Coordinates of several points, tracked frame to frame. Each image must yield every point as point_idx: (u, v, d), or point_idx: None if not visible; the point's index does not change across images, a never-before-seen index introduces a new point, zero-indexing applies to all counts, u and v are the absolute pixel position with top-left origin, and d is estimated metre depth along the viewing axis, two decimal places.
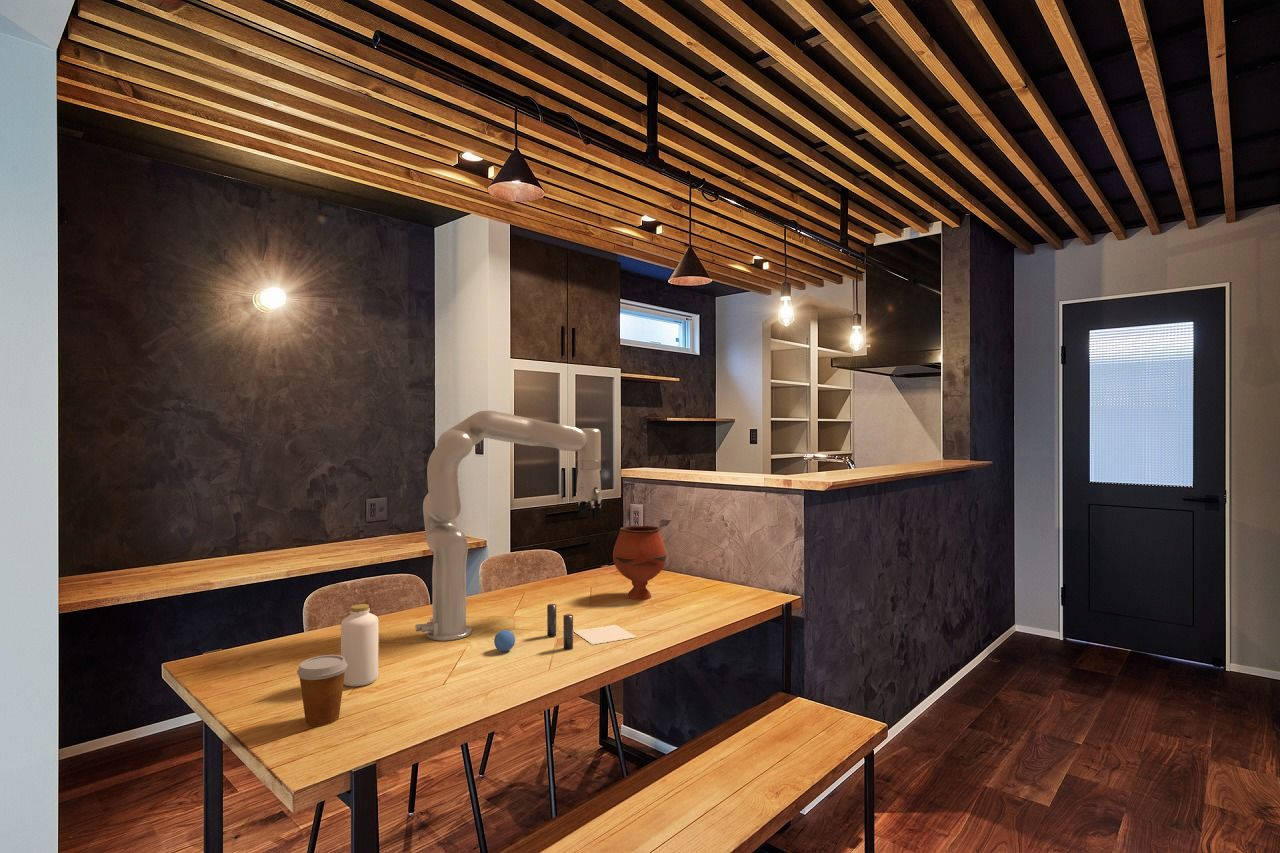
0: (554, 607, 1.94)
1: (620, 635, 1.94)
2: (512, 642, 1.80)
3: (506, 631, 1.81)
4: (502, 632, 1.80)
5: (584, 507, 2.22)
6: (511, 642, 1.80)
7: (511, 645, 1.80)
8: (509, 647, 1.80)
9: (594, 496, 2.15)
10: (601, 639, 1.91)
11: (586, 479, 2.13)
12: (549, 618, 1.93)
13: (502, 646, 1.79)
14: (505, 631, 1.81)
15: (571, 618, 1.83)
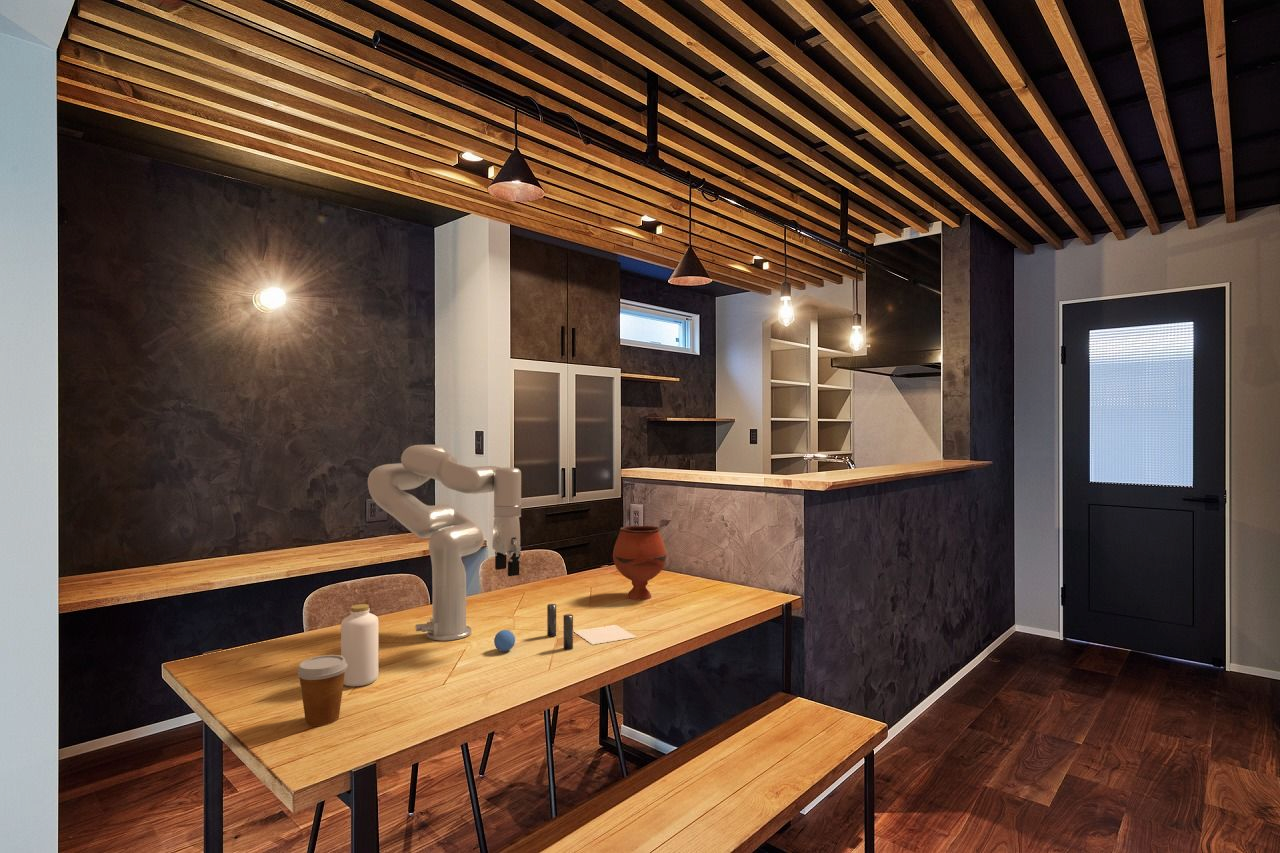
0: (554, 607, 1.94)
1: (620, 635, 1.94)
2: (512, 642, 1.80)
3: (506, 631, 1.81)
4: (502, 632, 1.80)
5: (501, 558, 1.92)
6: (511, 642, 1.80)
7: (511, 645, 1.80)
8: (509, 647, 1.80)
9: (512, 547, 1.85)
10: (601, 639, 1.91)
11: (503, 528, 1.84)
12: (549, 618, 1.93)
13: (502, 646, 1.79)
14: (505, 631, 1.81)
15: (571, 618, 1.83)
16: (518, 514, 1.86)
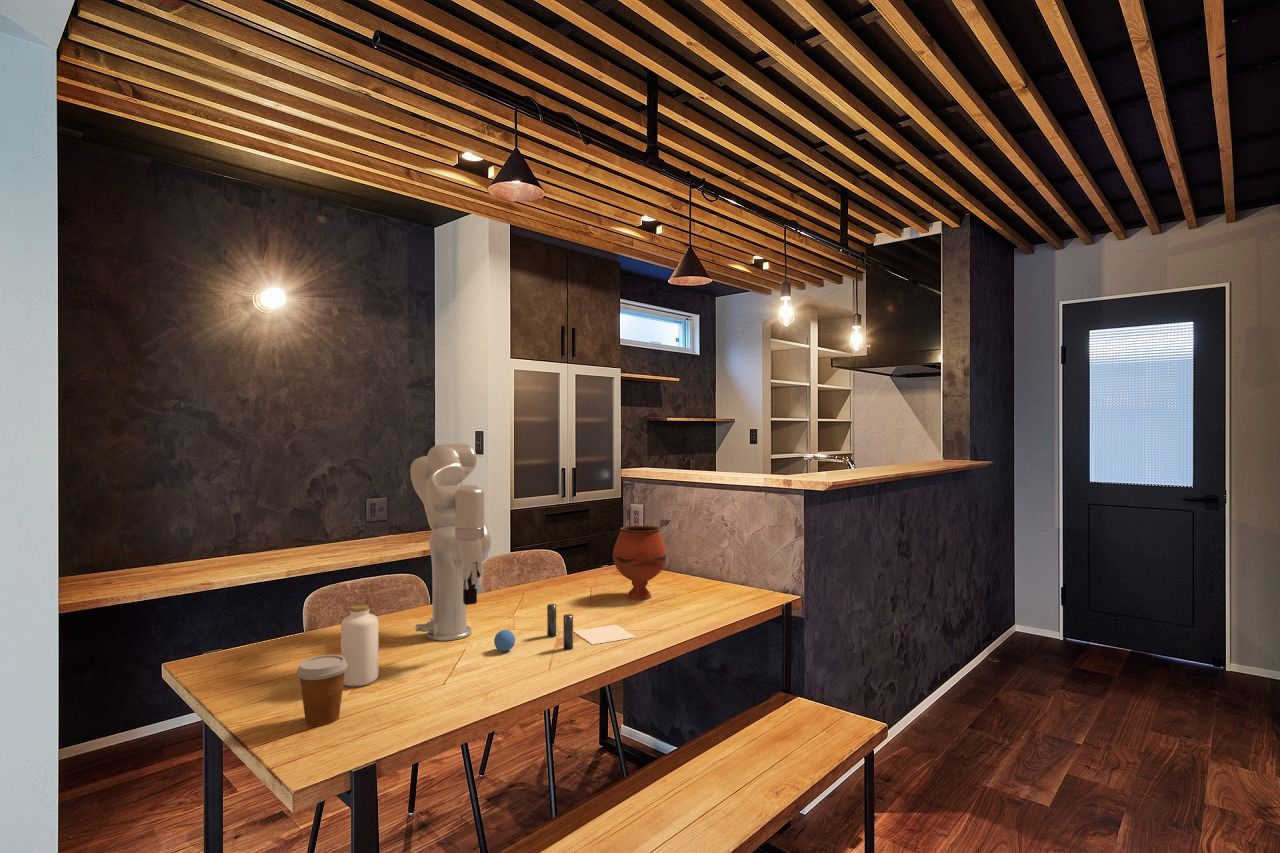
0: (554, 607, 1.94)
1: (620, 635, 1.94)
2: (512, 642, 1.80)
3: (506, 631, 1.81)
4: (502, 632, 1.80)
5: None
6: (511, 642, 1.80)
7: (511, 645, 1.80)
8: (509, 647, 1.80)
9: None
10: (601, 639, 1.91)
11: (463, 552, 1.73)
12: (549, 618, 1.93)
13: (502, 646, 1.79)
14: (505, 631, 1.81)
15: (571, 618, 1.83)
16: (480, 537, 1.75)
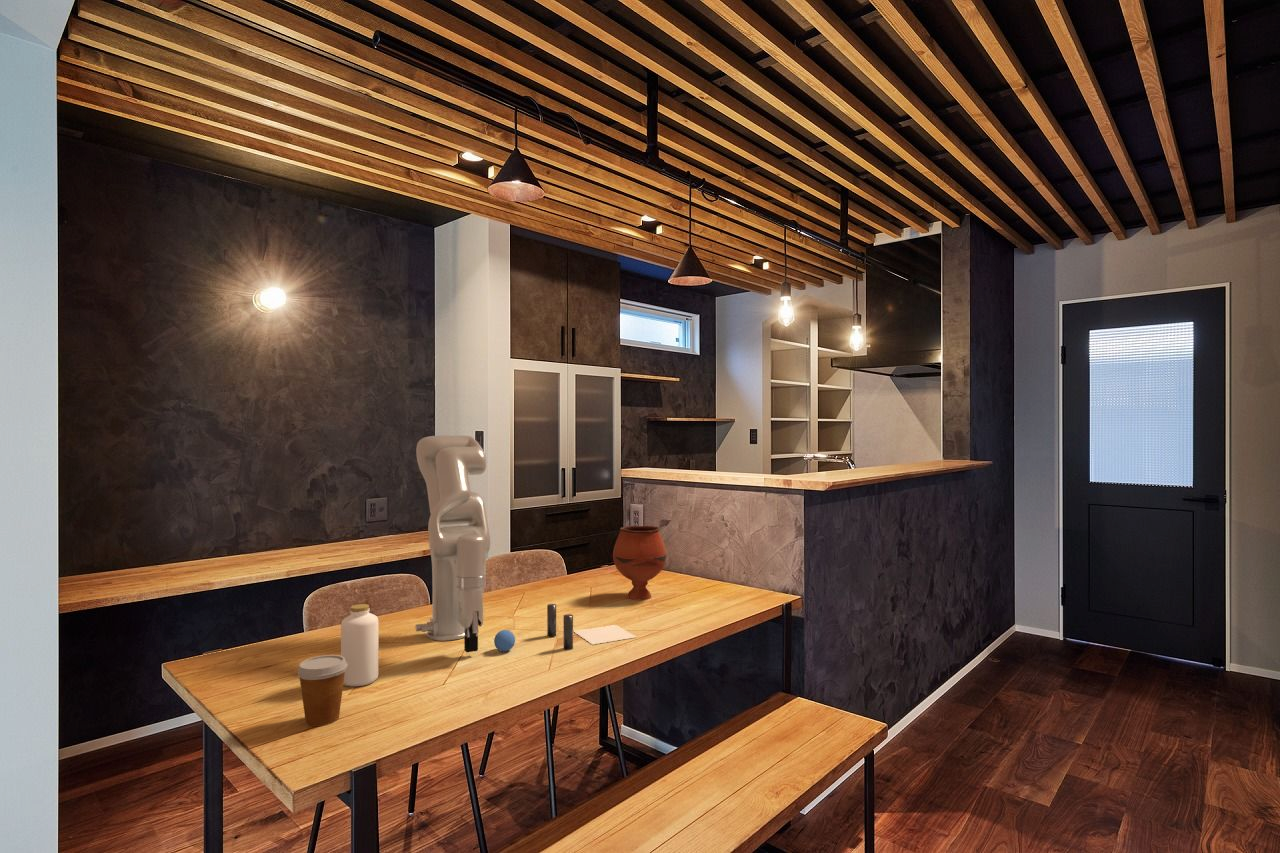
0: (554, 607, 1.94)
1: (620, 635, 1.94)
2: (512, 642, 1.80)
3: (506, 631, 1.81)
4: (502, 632, 1.80)
5: None
6: (511, 642, 1.80)
7: (511, 645, 1.80)
8: (509, 647, 1.80)
9: None
10: (601, 639, 1.91)
11: (464, 601, 1.73)
12: (549, 618, 1.93)
13: (502, 646, 1.79)
14: (505, 631, 1.81)
15: (571, 618, 1.83)
16: (481, 585, 1.75)
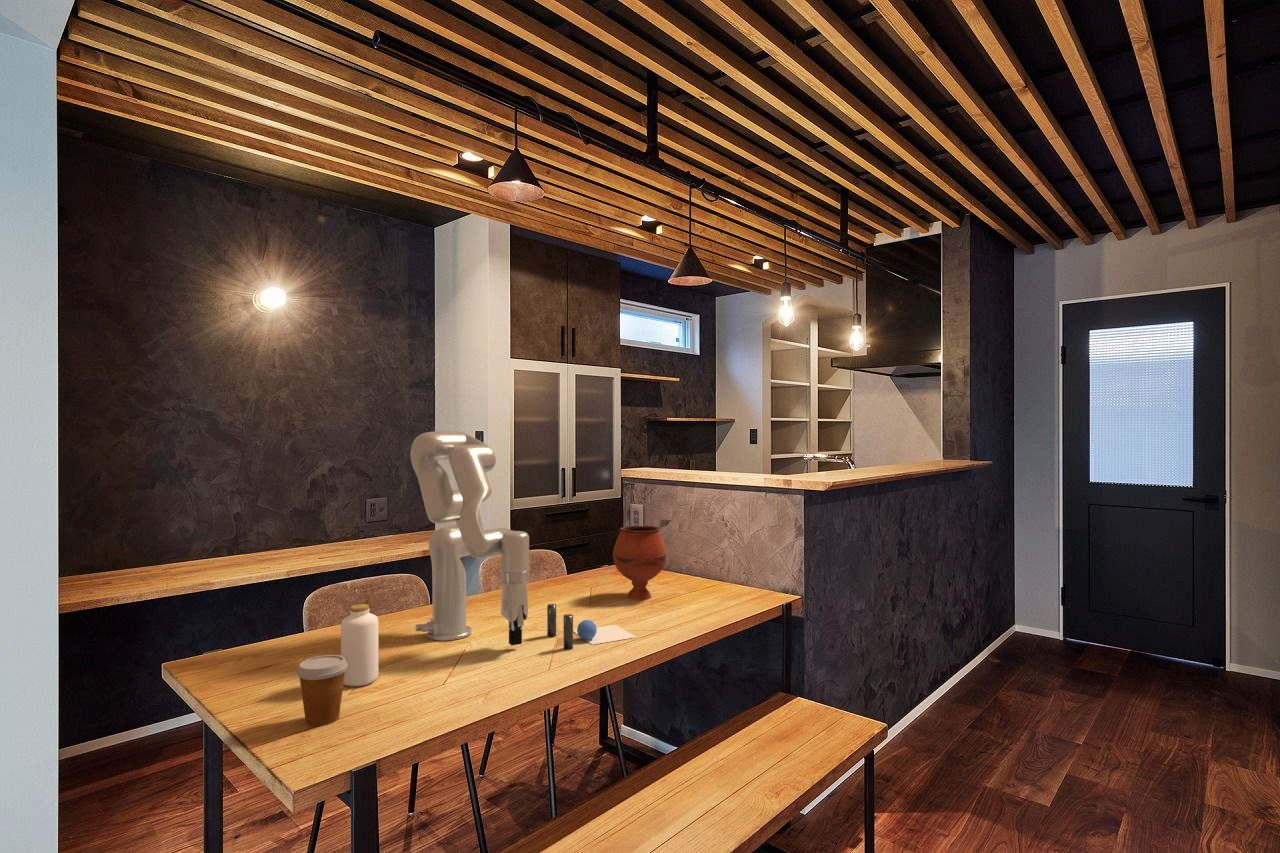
0: (554, 607, 1.94)
1: (620, 635, 1.94)
2: (587, 637, 1.89)
3: None
4: (596, 630, 1.91)
5: None
6: (587, 637, 1.89)
7: (585, 636, 1.88)
8: (584, 633, 1.88)
9: None
10: (601, 639, 1.91)
11: (510, 595, 1.79)
12: (549, 618, 1.93)
13: (589, 628, 1.89)
14: None
15: (571, 618, 1.83)
16: (526, 580, 1.81)
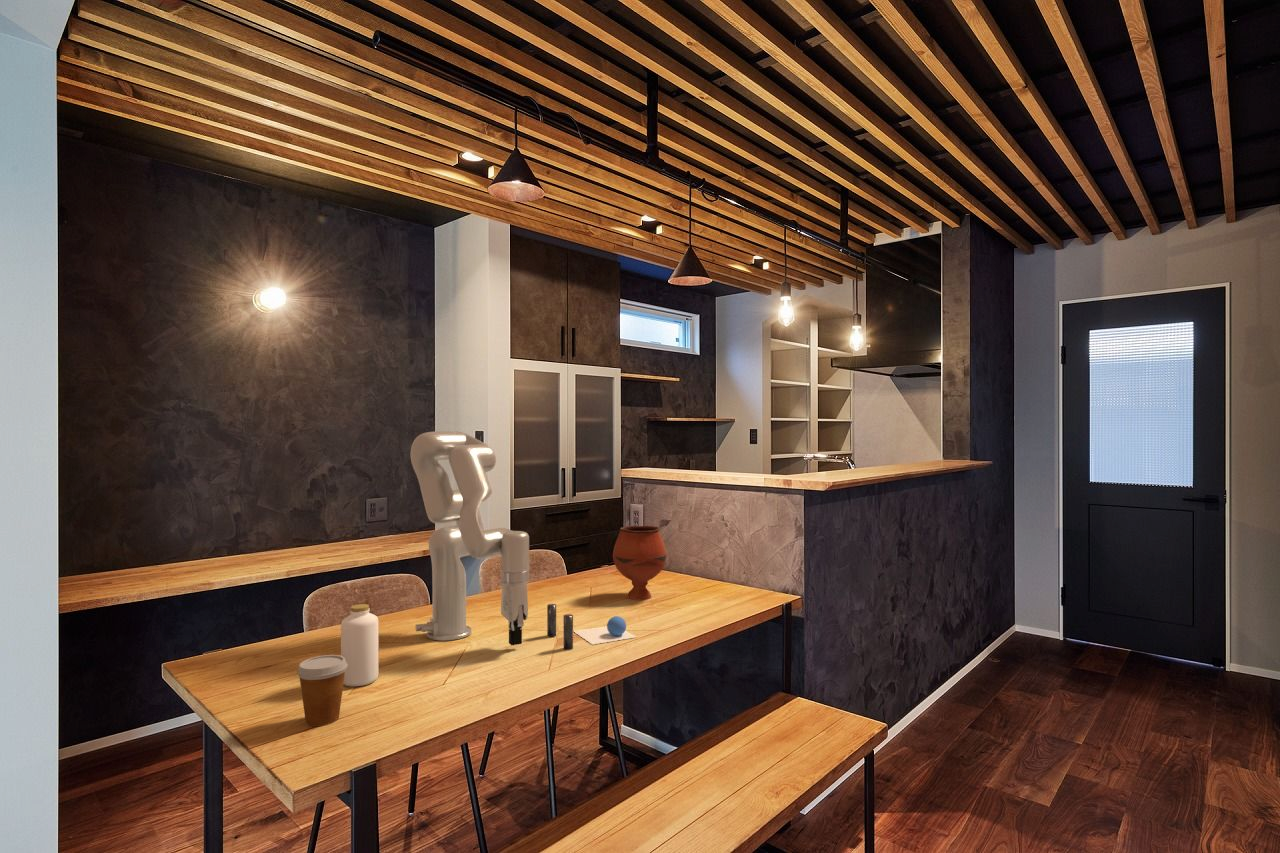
0: (554, 607, 1.94)
1: (620, 635, 1.94)
2: (622, 623, 1.93)
3: (610, 622, 1.93)
4: (609, 626, 1.93)
5: None
6: (622, 623, 1.93)
7: (623, 624, 1.93)
8: (624, 627, 1.93)
9: None
10: (601, 639, 1.91)
11: (510, 595, 1.79)
12: (549, 618, 1.93)
13: (619, 632, 1.92)
14: (610, 622, 1.93)
15: (571, 618, 1.83)
16: (526, 580, 1.81)
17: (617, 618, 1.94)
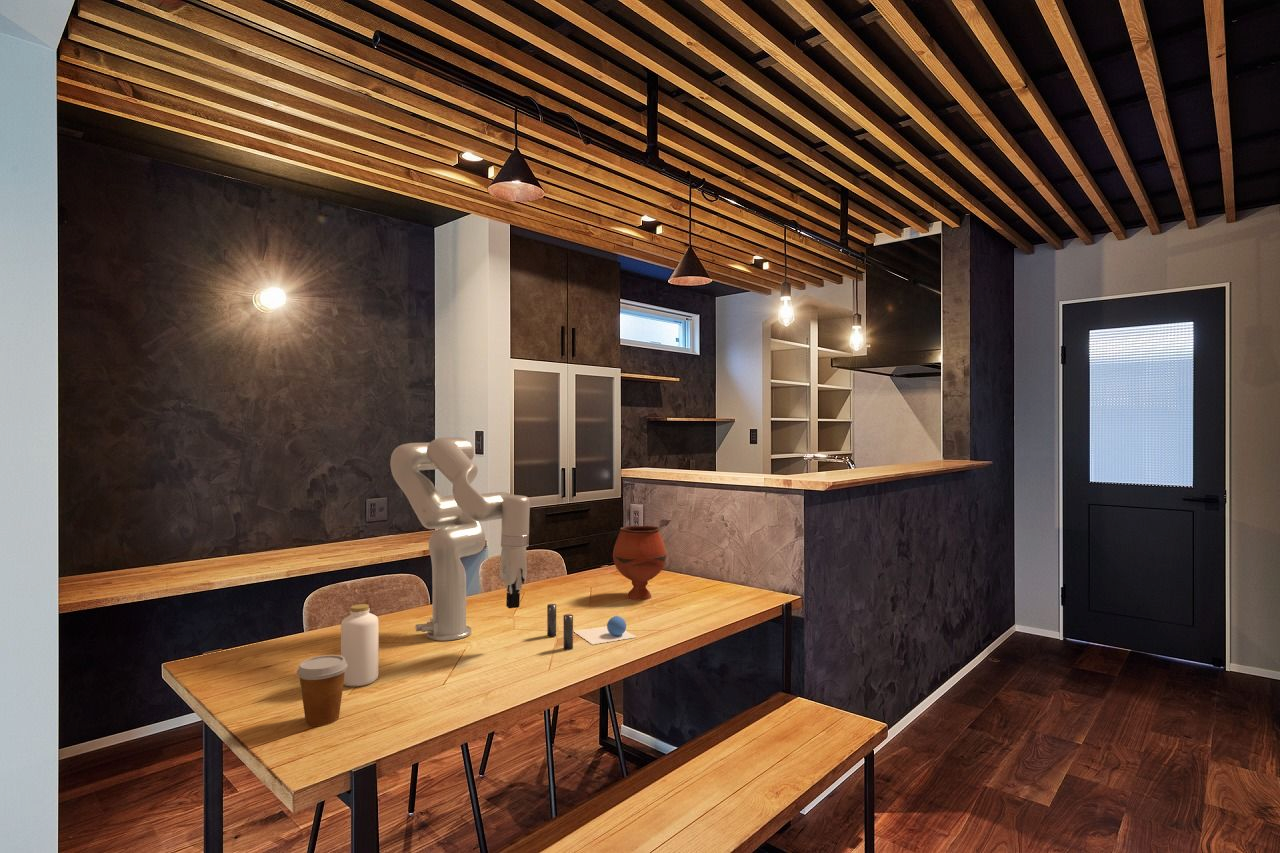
0: (554, 607, 1.94)
1: (620, 635, 1.94)
2: (622, 623, 1.93)
3: (610, 622, 1.93)
4: (609, 625, 1.93)
5: None
6: (622, 623, 1.93)
7: (624, 624, 1.93)
8: (624, 627, 1.93)
9: None
10: (601, 639, 1.91)
11: (509, 558, 1.79)
12: (549, 618, 1.93)
13: (619, 632, 1.92)
14: (610, 622, 1.93)
15: (571, 618, 1.83)
16: (525, 544, 1.81)
17: (617, 618, 1.94)
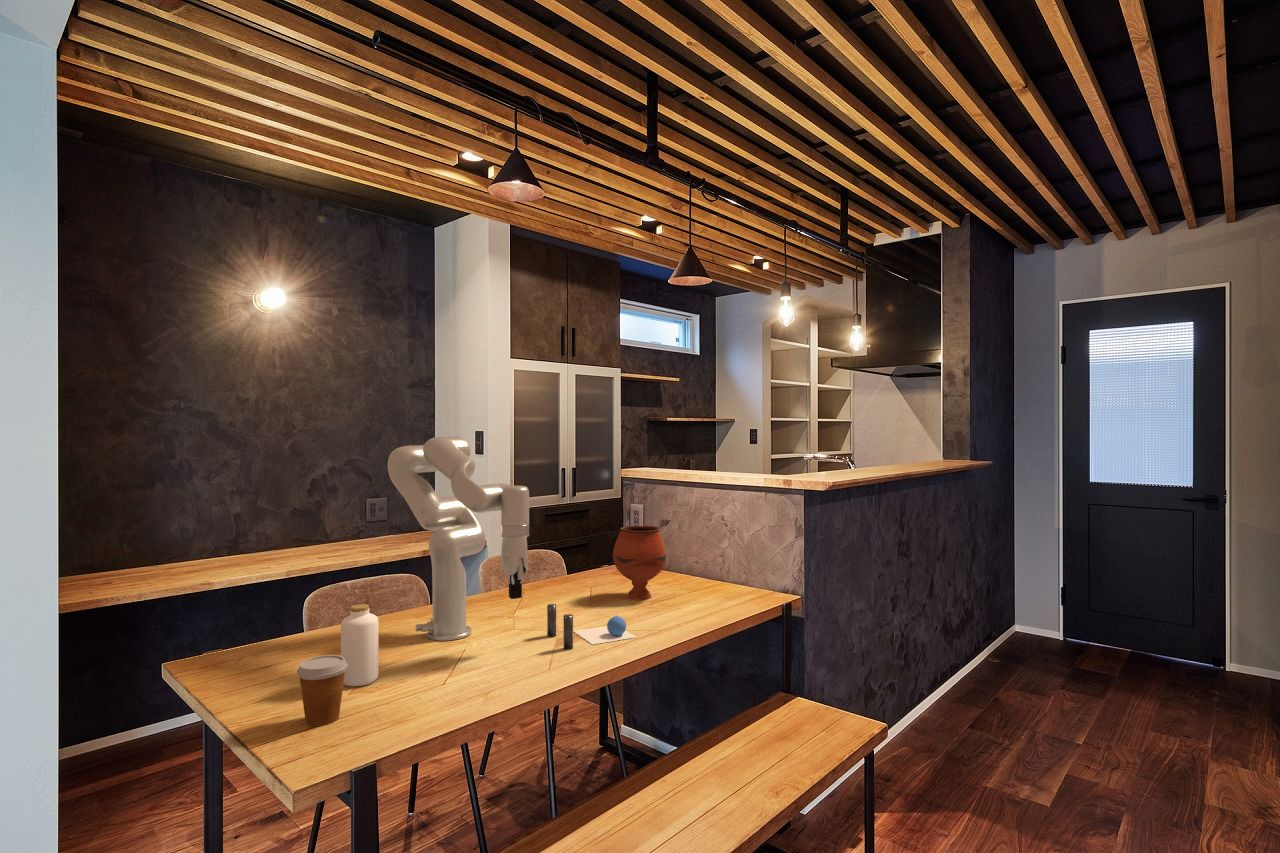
0: (554, 607, 1.94)
1: (620, 635, 1.94)
2: (622, 623, 1.93)
3: (610, 622, 1.93)
4: (609, 625, 1.93)
5: None
6: (622, 623, 1.93)
7: (624, 624, 1.93)
8: (624, 627, 1.93)
9: None
10: (601, 639, 1.91)
11: (510, 548, 1.79)
12: (549, 618, 1.93)
13: (619, 632, 1.92)
14: (610, 622, 1.93)
15: (571, 618, 1.83)
16: (526, 534, 1.81)
17: (617, 618, 1.94)
